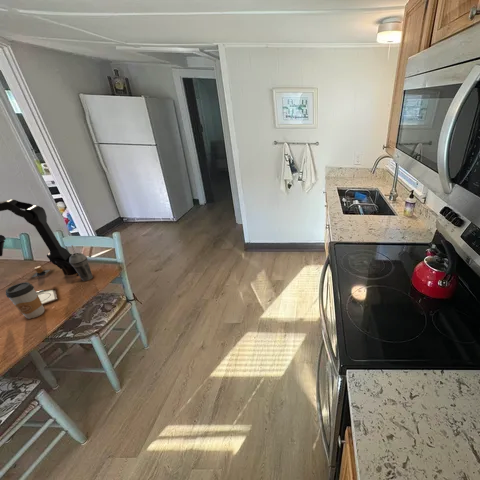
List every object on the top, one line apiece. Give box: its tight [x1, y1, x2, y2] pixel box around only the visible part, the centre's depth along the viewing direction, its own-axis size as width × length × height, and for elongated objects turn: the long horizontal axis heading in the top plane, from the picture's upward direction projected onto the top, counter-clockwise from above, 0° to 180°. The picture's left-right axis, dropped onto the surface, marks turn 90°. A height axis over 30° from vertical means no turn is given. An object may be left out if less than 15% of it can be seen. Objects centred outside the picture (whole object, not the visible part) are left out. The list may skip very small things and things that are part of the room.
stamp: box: [34, 265, 45, 275], centre depth 147 cm, size 3×3×4 cm
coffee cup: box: [5, 281, 45, 320], centre depth 117 cm, size 8×8×15 cm
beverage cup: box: [69, 244, 94, 282], centre depth 140 cm, size 7×7×20 cm
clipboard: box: [36, 288, 59, 306], centre depth 129 cm, size 12×14×1 cm
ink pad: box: [31, 269, 51, 278], centre depth 148 cm, size 7×7×1 cm
